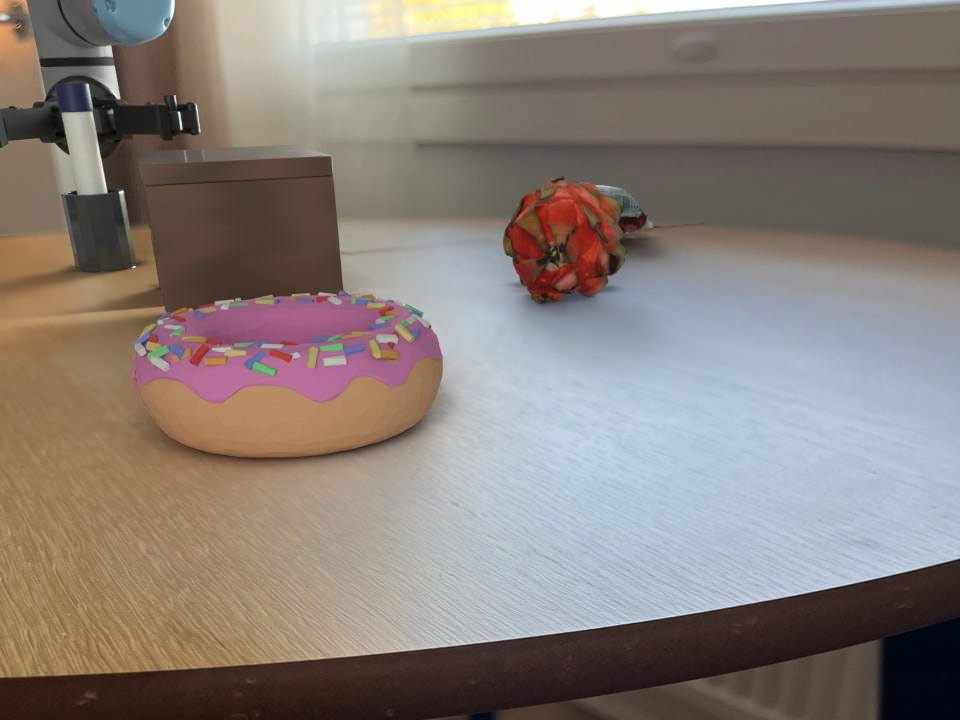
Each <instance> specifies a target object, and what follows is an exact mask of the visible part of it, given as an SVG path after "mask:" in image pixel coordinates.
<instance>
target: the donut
mask: <svg viewBox="0 0 960 720" xmlns="http://www.w3.org/2000/svg"><path fill="white" fill-rule="evenodd" d="M338 295H340V296H337V294H329V293H322V292H320V293H318V295H314V296H311V295H310V293H306V294H292V296H287V297H284V296H278V297H273V295H269V296H264V297H259V298H255V299H249V300H241V298H236V299H235V301H234V300H224V301H215V304H208V305H202V306H198V309H196V310H193V309H192V308H190V309H187V308H185V307H184V308H182V309H179V310H177V311H175V312H172V313H170V312H164V313H163V314H162V315H161V316H160V317H159V318H157V320H155V321H154V322H153V323H150V324H149V325H146V326H145V327H144V328H143V330H142V332H141V333H140V336H139V337H138V338H137V340H135V341H134V342H132V346H133V348H134V351H136V354H135V355H134V358H133V361H132V364H131V365H132V367H131V381H132V386H133V388H134V390H135V392H136V395H137V397H138V398H139V401H141V403H142V405H143V407H144V409H145V410H146V412H147V414H149V416H150V417H151V419H152V420H153V421H154V423H155V424H156V426H157V427H158V428H159V429H160V430H161V431H162V432H164V434H166V435H167V436H168V437H169V438H170V439H172V440H174V441H176V442H178V443H180V444H181V445H184V446H186V447H190V448H192V449H195V450H199V451H203V452H206V453H209V454H216V455H222V456H229V457H235V458H237V457H238V458H249V459H251V458H253V459H254V458H256V459H257V458H258V459H261V458H262V459H263V458H264V459H265V458H299V457H300V458H301V457H310V456H312V457H313V456H320V455H327V454H333V453H338V452H344V451H350V450H355V449H358V448H361V447H365V446H369V445H373V444H376V443H379V442H383V441H385V440H388V439H390V438H392V437H396V436H398V435H400V434H401V433H403V432H405V431H407V430H408V429H410V428H412V427H414V426H415V425H417V424H418V423H419V421H421V419H423V418H424V417H425V416H426V414H427V413H428V412H429V411H430V410H431V408H432V406H433V404H434V402H435V399H436V397H437V395H438V392H439V390H440V386H441V382H442V378H443V372H444V371H443V370H444V357H443V353H442V350H441V346H440V342H439V338H438V335H437V334H436V333H435V331H434V330H433V328H432V325H431V323H430V322H429V321H428V320H425V318H423V315H424V312H423V311H421V310H419V309H417V308H415V307H414V306H412V305H410V304H408V303H405V305H404V304H403V303H402V302H401V301H399V300H398V299H396V300H394V299H386V298H381V297H380V296H379V297H377V299H376V297H375V296H374V295H373V294H371V293H370V294H361V295H360V294H354V295H353V296H352V295H351V294H349V293H348V292H346V291H345V290H343V291H339V294H338Z"/></svg>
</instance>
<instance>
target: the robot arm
mask: <svg viewBox="0 0 960 720" xmlns="http://www.w3.org/2000/svg"><path fill="white" fill-rule="evenodd" d="M25 2H26V5H27V10H28V15H29V19H30V23H31V24H30V25H31V28H32V34H33V37H34V42H35V47H36V52H37V56H38V62H39V65H40V68H39V69H40V74H41V79H42V83H43V88H44V93H45V98H44V100H43V101H35V102H33V103H32V107H31V108H23V107H17V106H15V105H9V106H8V107H4V108H0V149H1V148H4V147H6V146H7V145H8V144H9V142H12V141H14V142H15V141H24V140H35V139H36V140H37V139H38V140H39V141H40V142H41V143H42V144H55V145H56V146H57V148H59V150H61V151H62V152H63V153H64V154H66V155H67V156H69V157H70V153H69V148H68V143H67V138H66V133H65V129H64V124H63V119H62V112H60V110H59V105H58V100H57V95H56V90H55V84H73V83H88V84H89V89H90V94H91V100H92V105H93V111H92V112H93V117H94V123H95V128H96V133H97V139H98V144H99V150H100V155H101V160H102V161H103V160H105V159H107V158H109V157H111V156H112V155H114V154H115V153H116V152H117V151H118V149H119V148H120V146H121V145H122V143H123V141H128V140H132V139H133V137H134V136H135V135H141V136H142V135H143V136H147V135H148V136H149V135H151V136H155V135H156V136H159V137H160V139H161V140H163V141H164V142H165V141H174V140H173V139H174V138H173V137H178V136H181V135H183V134H184V135H191V136H198V135H200V134H201V124H200V117H199V111H198V105H197V103H195V102H193V101H187V102H186V103H177V96H176V95H175V94H169V95H167V94H166V95H163V103H162V102H159V103H157V102H156V103H155V102H152V101H146V102H145V103H139V104H129V103H128V102H127V100H126V99H125V98H121V95H120V88H119V83H118V76H117V71H116V66H115V59H114V55H113V48H112V46H128V47H132V46H133V47H135V46H140V45H141V44H145V43H147V42H151V41H153V40H155V39H157V38H158V37H161V36H162V35H163V34H164V33H165V32H166V31H167V29H169V26H170V24H171V21H172V20H173V16H174V13H175V0H25Z"/></svg>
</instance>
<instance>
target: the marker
mask: <svg viewBox="0 0 960 720" xmlns="http://www.w3.org/2000/svg"><path fill="white" fill-rule="evenodd" d="M55 90H56V95H57V100H58V105H59V110H60V112H62V119H63V124H64V129H65V133H66V138H67V143H68V148H69V153H70V156H69V157H70V163H71V168H72V173H73V178H74V183H75V188H76V190H77V193H78V195H87V194H102V193H108V192H107V189H108V188H107V182H106V177H105V171H104V166H103V160H101V155H100V150H99V144H98V139H97V133H96V128H95V123H94V117H93V112H92V111H93V105H92V100H91V94H90V89H89V84H88V83H73V84H55Z"/></svg>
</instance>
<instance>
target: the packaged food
mask: <svg viewBox="0 0 960 720" xmlns="http://www.w3.org/2000/svg"><path fill="white" fill-rule="evenodd" d="M594 185H595V184H594ZM595 186H596V187H597V188H598V189H599V190H600V193H601V195H608V196H612V197H615V198H616V199H617V200H618V201H619V202H620V203H621V205H622V207H623V213H622V215H621V218H620V220H619V222H618V223H619V224H620V228H621V230H622V232H623V233H624V234H625V235H624V237H623V238H622V239H621V240H620V241H622V240H624V239H626V238H628V237H629V236H631V235H634V234H636V233H638V232H639V231H640V230H641V229H643V228H644V226H646V227H648V228H649V229H650V230H652V229H653V227H654V224H653V222H652V220H649V218H648V216H649V215H648V214H646V213H645V210H644V209H642V207H641V206H640V205H639V204H638V202H637V201H636V200H635V198H634V196H633V195H632V193H630V192H629V191H628V190H625V188H620V187H615V186H611V185H610V186H609V185H602V184H601V185H600V184H598V185H595Z"/></svg>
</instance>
